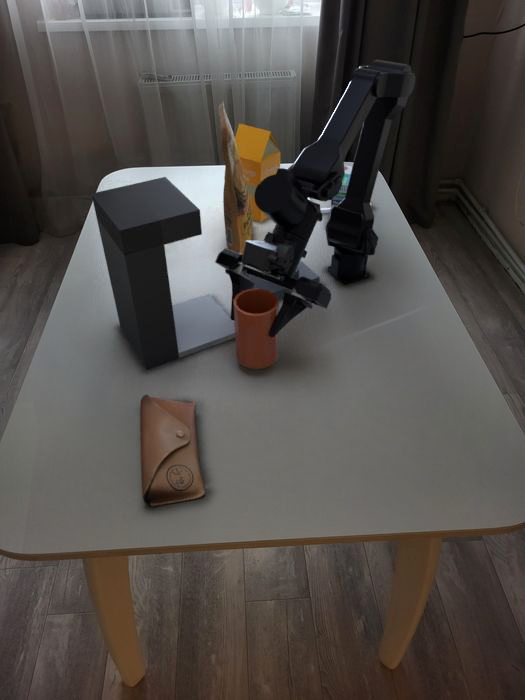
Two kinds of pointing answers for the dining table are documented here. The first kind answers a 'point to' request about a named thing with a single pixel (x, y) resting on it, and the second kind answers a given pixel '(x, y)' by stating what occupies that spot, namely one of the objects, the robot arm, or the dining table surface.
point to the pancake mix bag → (234, 191)
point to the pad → (278, 290)
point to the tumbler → (255, 328)
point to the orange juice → (256, 160)
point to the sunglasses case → (169, 452)
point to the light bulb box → (342, 188)
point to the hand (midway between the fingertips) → (251, 328)
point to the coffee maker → (154, 271)
